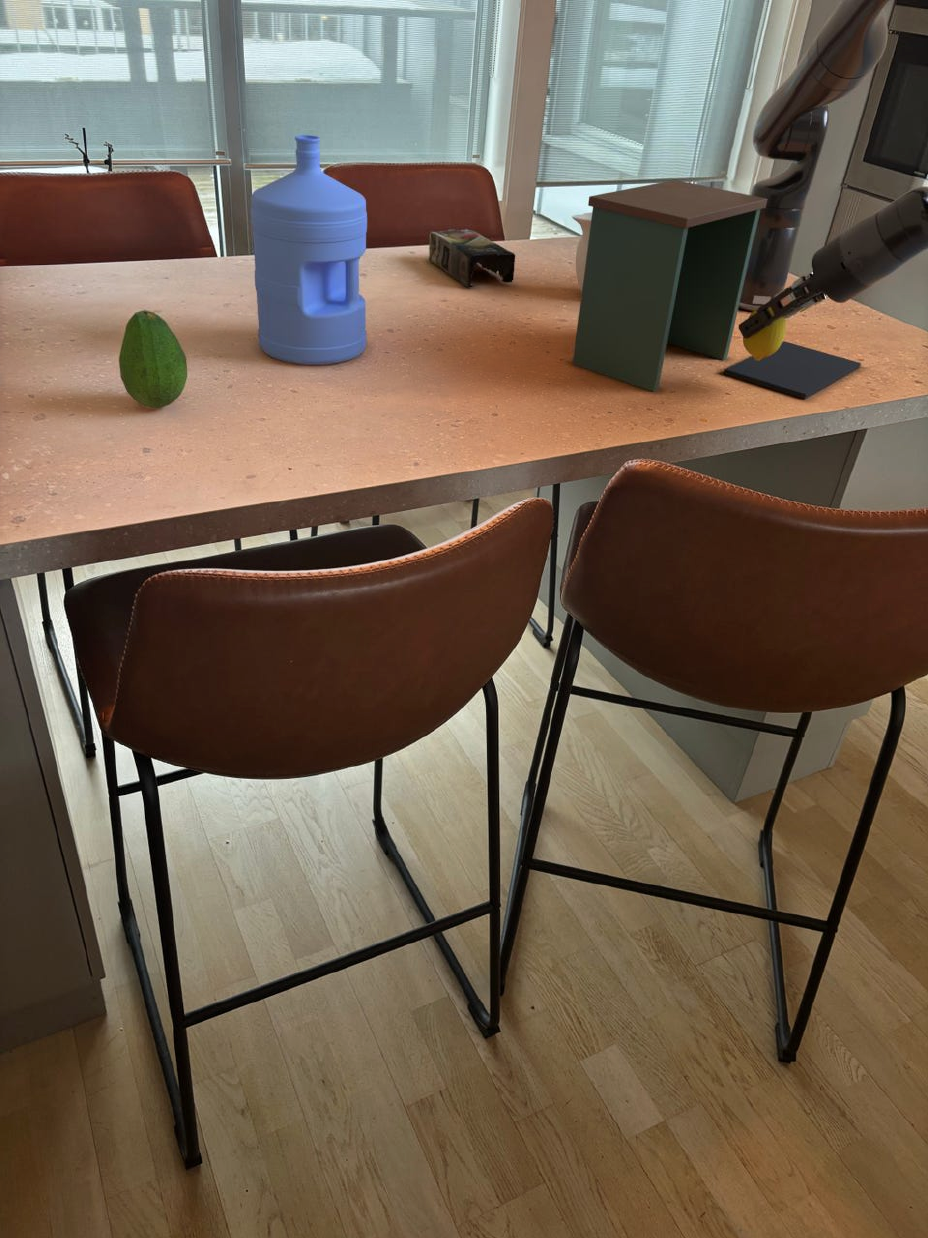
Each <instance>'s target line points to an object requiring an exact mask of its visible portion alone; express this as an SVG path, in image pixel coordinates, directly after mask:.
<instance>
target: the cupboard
mask: <svg viewBox="0 0 928 1238" xmlns="http://www.w3.org/2000/svg"><path fill="white" fill-rule="evenodd" d="M766 204H767V199H766V198H761V197H756V196H751V194H746V193H742V192H737V191H731V190H726V189H721V188H718V187H712V186H707V185H703V184H697V183H692V182H688V181H682V180H677V179H673V180H667V181H662V182H658V183H651V184H647V185H641V186H636V187H632V188H626V189H621V190H615V191H610V192H604V193H599V194H595V195H591V196H589V197H588V203H587V206H588V207H592V212H591V213H592V218H591V226H590V234H589V241H588V249H587V257H586V264H585V272H584V280H583V287H582V291H581V295H580V296H581V298H580V303H579V310H578V311H579V312H578V317H577V318H578V319H577V327H576V333H575V342H574V350H573V357H572V365H573V366H574V365H575V366H577V367H581V368H583V369H586V370H589V371H592V372H594V373H598V374H601V375H603V376H605V377H610V378H612V379H615V380H618V381H621V382H624V383H627V384H630V385H633V386H635V387H639V388H641V389H645V390H647V391H650V392H653V393H655V392H656V391H659V388H660V383H661V377H662V371H663V366H664V360H665V355H666V351H667V345H668V344H669V345H672V346H677V347H680V348H682V349H685V350H688V351H692V352H695V353H699V354H702V355H705V356H708V357H712V358H714V359H718V360H721V361H724V360H727V359H728V356H729V350H730V347H731V342H732V337H733V333H734V329H735V325H736V320H737V315H738V310H739V308H738V307H739V302H740V298H741V294H742V289H743V285H744V280H745V276H746V271H747V267H748V262H749V258H750V254H751V249H752V245H753V240H754V236H755V231H756V227H757V223H758V218H759V214H760V209H762V208H765V207H766Z"/></svg>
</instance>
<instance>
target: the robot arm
mask: <svg viewBox="0 0 928 1238" xmlns="http://www.w3.org/2000/svg"><path fill="white" fill-rule="evenodd" d="M890 1H891V0H840V1H839V3H838V5H837V6H836V8H835V9H834V11H833V12H832V14H831V15H830V16H829V18H828V19H827V21H826V22H825V23H824V24H823V26H822V27H821V29H820V30H819V32H818V33H817V35H816V36H815V37H814V39H813V40H812V42H811V44H810V45H809V47H808V48H807V50H806V52H805V54H804V55H803V57H802V58H801V60H800V61H799V62H798V63H797V65H796V67H795V68H794V69H793V70H792V72H791V73H790V74H789V75H788V77H787V78H786V79H785V80H784V81H783V82H782V83H781V84H780V86H779V87H777V89H776V90H775V91H774V93H772V94H771V96H770V97H769V98H768V99H767V101H766V102H765V104H764V105H763V107H762V108H761V110H760V112H759V114H758V117H757V118H756V121H755V125H754V128H753V132H752V144H753V148H754V151H755V152H756V154H757V155H758V156H759V157H761V158H764V159H768V160H775V161H789V162H790V163H789V165H788V166H787V168H785V169H784V170H783V171H781V172H779V173H778V174H776V175H773V176H771V177H768V178H765V179H761V180H758V181H757V182H755V184H754V185H753V186H752V188H751V192H750V195H751V196H756V197H761V198H766V199H767V204H766V207H765V208H762V209H760V214H759V218H758V223H757V227H756V231H755V236H754V240H753V245H752V249H751V254H750V258H749V262H748V267H747V271H746V276H745V280H744V285H743V289H742V294H741V298H740V302H739V307H738V309H741V310H744V311H749V312H753V311H755V310H756V309H757V308H758V309H757V310H756V312H757V313H756V314H754V315H753V316H751V317H750V318H749V317H748V318H746V319H745V320H743V321H742V322H740V323H739V324H738V330H739V332H740V333H741V336H742V338H743V337H744V338H746V339H747V338H749V337H751V336H752V335H754V334H756V333H757V332H759V331H760V330H762V329H763V328H765V327H766V326H769V325H770V326H771V325H772V324H773V323H774V322H776V321H777V320H779V319H781V318H782V317H784V318H785V319H789V318H791V317H793V316H795V315H797V314H799V313H803V312H805V311H807V310H809V309H810V308H812V307H813V306H816V305H818V304H820V303H822V302H824V301H825V300H828V299H830V300H831V301H833V302H835V303H838V304H843V303H846V302H848V301H849V300H851V299H853V298H854V297H857V296H858V295H860V294H861V293H862V292H864V291H865V290H867V289H869V288H871V287H872V286H873V285H875V284H877V283H878V282H880V281H882V280H884V279H885V278H888V276H890V275H891V274H893V273H894V272H895V271H897V270H898V269H899V268H900V267H902V266H903V265H904V264H906V263H907V262H909V261H910V260H911V259H913V258H916V256H918V255H920V254H921V253H923V252H924V251H926V250H928V186H925V185H924V186H917V187H914V188H911V189H910V190H909V191H907V192H905V193H904V194H902V195H901V196H899V197H898V198H896V199H894V200H893V201H892V202H890V203H889V204H888V205H886V206H884V207H883V208H881V209H880V210H879V211H876V212H875V213H874V214H871V216H868V217H865V218H864V219H863V220H860V221H859V222H857V223H856V224H855V225H853V226H852V227H850V228H849V229H847V230H846V231H844V232H843V233H841V234H840V235H838V236H837V237H835V238H834V239H833V240H831V241H829V242H828V243H826V244H825V245H824V246H822V247H821V248H819V249H817V251H815V252H814V254H813V255H812V257H811V268H812V272H810V273H808V274H807V275H802V276H800V277H799V278H797V279H795V280H794V281H793V282H792V284H790V286H788V287H786V283H787V280H788V275H789V271H790V268H791V263H792V259H793V256H794V252H795V248H796V244H797V240H798V235H799V232H800V227H801V223H802V219H803V215H804V213H805V208H806V203H807V199H808V197H809V194H810V192H811V188H812V186H813V182H814V178H815V175H816V172H817V168H818V164H819V161H820V158H821V155H822V152H823V149H824V145H825V141H826V138H827V135H828V131H829V130H828V129H829V125H830V115H831V114H830V107H829V105H830V104H832V103H834V102H837V101H839V100H840V99H842V98H844V97H845V96H847V95H849V94H850V93H851V92H853V91H854V90H856V89H857V88H858V87H859V86H860V85H861V84H862V83H863V82H864V80H866V78H867V77H868V76H869V74H870V73H871V72H872V70H874V68H875V67H876V65H878V64H879V62H880V60H881V59H882V57H883V55H884V53H885V51H886V48H887V43H888V35H889V33H888V32H889V29H888V23H887V17H886V12H885V8H886V6H887V5H888V4H889V3H890ZM827 298H828V299H827ZM769 308H771V309H772V311H773V313H774V316H772V314H771V312H770V310H769Z"/></svg>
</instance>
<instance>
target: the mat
mask: <svg viewBox="0 0 928 1238" xmlns="http://www.w3.org/2000/svg"><path fill="white" fill-rule="evenodd" d="M861 365H862V363H861V362H859V361H856V360H853V359H852V360H851V359H849V358H845V357H842V356H838V355H835V354H831V353H827V352H823V351H820V350H818V349H817V350H816V349H813V348H810V347H806V346H803V345H800V344H795V343H793V342H789V341H785V340H783V342H782V344H781V346H780V347H779V349H778V350H777V351H776V352H775V353H774V354H772V355H770V356H768V357H764V358H763V359H761V360H760V361H757V360H755V358H754V357H753V355H751V356H749V357H747V358H745V359H743V360H741V361H739V362H737V363H735V364H733V365H730V366H728V367H726V368H724V370H723V375H726V376H729V377H732V378H735V379H738V380H742V381H745V382H748V383H750V384H754V385H757V386H761V387H764V388H767V389H770V390H773V391H776V392H779V393H783V394H786V395H789V396H792V397H795V398H798V399H801V400H807V399H809V398H810V397H812V396H814V395H816V394H817V393H819V392H820V391H822V390H824V389H826V388H827V387H829V386H831V385H833V384H835V383H836V382H838V381H840V380H841V379H843V378H845V377H846V376H848V375H850V374H852V373H854V372H856V370H858V369H860V368H861Z"/></svg>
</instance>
